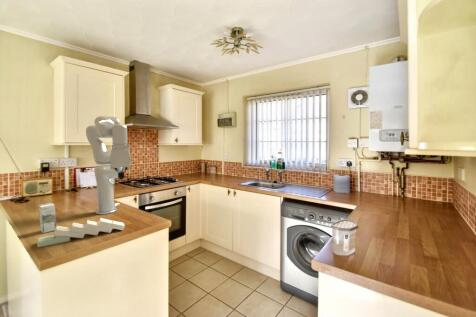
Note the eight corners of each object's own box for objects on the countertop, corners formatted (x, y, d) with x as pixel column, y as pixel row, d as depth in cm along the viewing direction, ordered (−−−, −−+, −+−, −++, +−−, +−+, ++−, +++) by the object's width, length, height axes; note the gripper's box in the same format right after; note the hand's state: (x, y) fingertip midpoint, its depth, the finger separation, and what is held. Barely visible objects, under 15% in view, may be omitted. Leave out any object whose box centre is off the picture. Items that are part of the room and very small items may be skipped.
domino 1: (84, 229, 119) (56, 225, 112) (85, 233, 115) (56, 229, 107) (82, 234, 119) (54, 230, 112) (83, 238, 114) (54, 234, 107)
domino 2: (98, 227, 123) (72, 222, 116) (99, 230, 118) (72, 226, 111) (96, 231, 123) (70, 227, 116) (97, 235, 118) (70, 231, 111)
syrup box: (53, 227, 128) (51, 202, 126) (56, 230, 124) (54, 204, 123) (40, 231, 123) (38, 204, 122) (42, 234, 119) (40, 206, 118)
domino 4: (123, 222, 129) (100, 217, 123) (124, 225, 124) (100, 221, 118) (121, 226, 129) (98, 222, 123) (122, 230, 124) (98, 225, 118)
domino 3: (111, 224, 126) (87, 220, 120) (112, 228, 121) (87, 223, 115) (109, 229, 126) (85, 224, 119) (110, 232, 121) (85, 228, 114)
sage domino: (70, 232, 116) (39, 237, 110) (69, 236, 111) (37, 242, 105) (70, 236, 116) (39, 242, 110) (70, 241, 112) (37, 247, 105)
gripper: (133, 146, 136) (134, 176, 138) (104, 146, 128) (105, 178, 130) (135, 147, 130) (136, 179, 132) (105, 147, 122) (106, 181, 124)
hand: (121, 178), depth 131 cm, fingers closed
